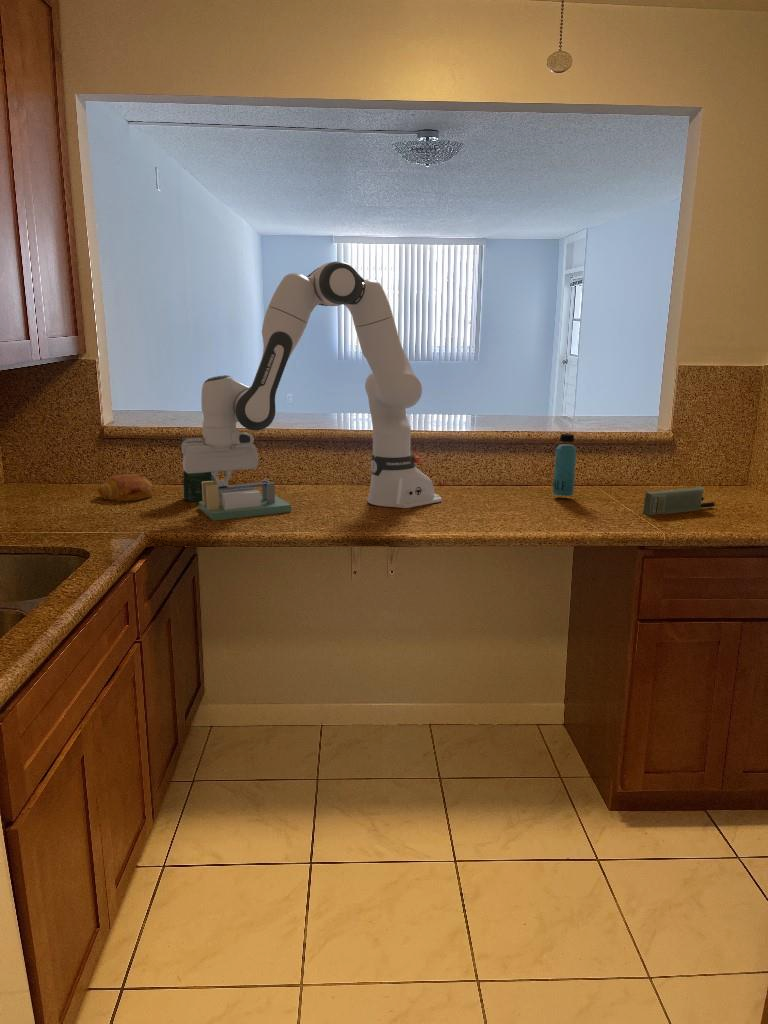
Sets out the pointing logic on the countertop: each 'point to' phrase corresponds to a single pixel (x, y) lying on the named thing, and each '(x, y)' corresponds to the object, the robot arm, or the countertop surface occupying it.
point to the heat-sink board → (240, 502)
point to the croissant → (126, 488)
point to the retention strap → (244, 485)
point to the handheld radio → (674, 501)
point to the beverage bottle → (564, 467)
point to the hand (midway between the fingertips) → (221, 486)
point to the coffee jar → (194, 482)
